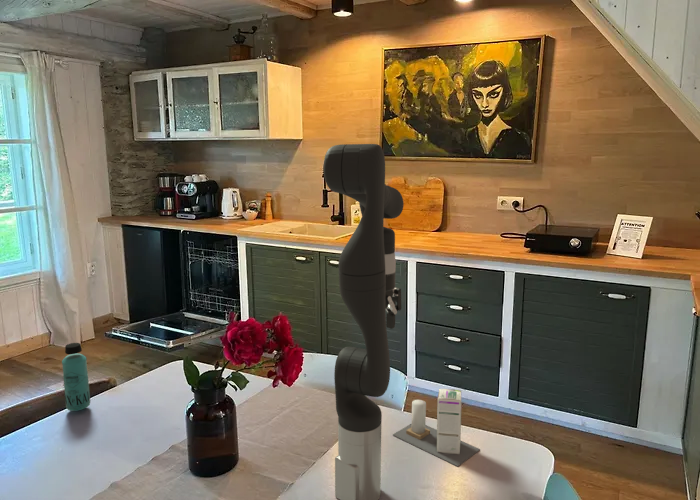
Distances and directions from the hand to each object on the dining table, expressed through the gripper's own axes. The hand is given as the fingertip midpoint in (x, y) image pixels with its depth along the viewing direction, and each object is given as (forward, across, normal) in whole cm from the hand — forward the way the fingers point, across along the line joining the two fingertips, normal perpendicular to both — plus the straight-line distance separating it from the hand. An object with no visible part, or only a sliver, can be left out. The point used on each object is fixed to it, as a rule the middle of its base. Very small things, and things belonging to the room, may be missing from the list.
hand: (379, 331), depth 139 cm
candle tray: (+28, +6, -14) cm, 32 cm away
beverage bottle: (+28, -51, +69) cm, 90 cm away
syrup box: (+28, +6, -18) cm, 34 cm away
